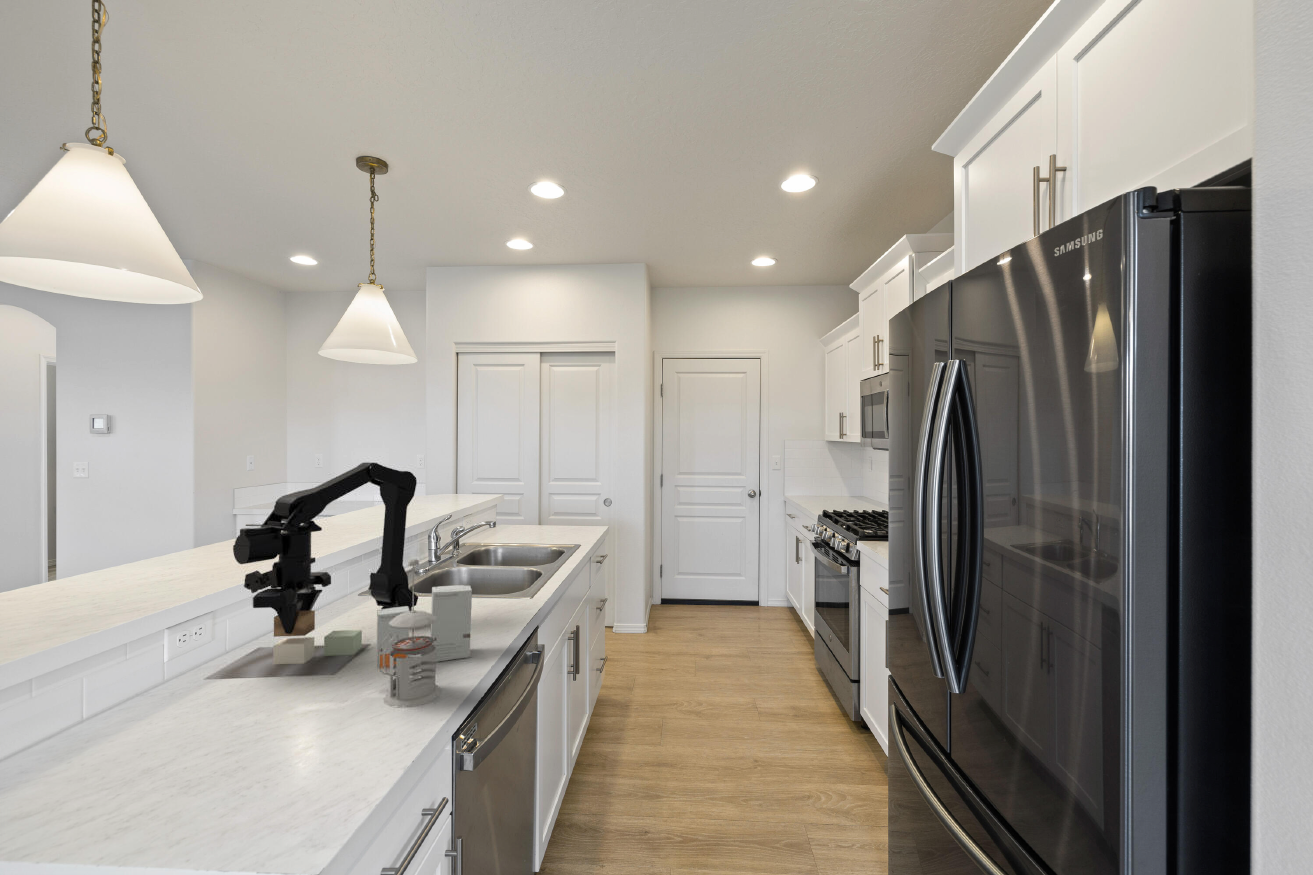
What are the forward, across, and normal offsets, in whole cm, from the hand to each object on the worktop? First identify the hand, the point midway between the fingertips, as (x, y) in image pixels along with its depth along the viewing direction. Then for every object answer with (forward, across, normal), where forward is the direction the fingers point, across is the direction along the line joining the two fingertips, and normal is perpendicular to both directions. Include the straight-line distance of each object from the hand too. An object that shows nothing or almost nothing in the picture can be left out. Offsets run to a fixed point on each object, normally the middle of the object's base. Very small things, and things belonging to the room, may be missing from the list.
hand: (294, 629), depth 117 cm
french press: (+8, +17, +29) cm, 35 cm away
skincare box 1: (+8, +3, +21) cm, 23 cm away
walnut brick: (+1, 0, 0) cm, 1 cm away
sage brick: (+6, -4, +8) cm, 11 cm away
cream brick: (+6, 0, 0) cm, 6 cm away
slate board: (+7, 0, 0) cm, 7 cm away
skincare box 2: (+8, -3, +31) cm, 32 cm away
